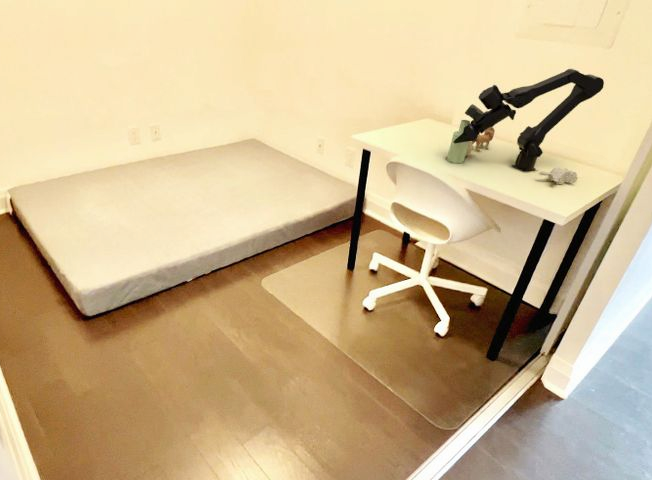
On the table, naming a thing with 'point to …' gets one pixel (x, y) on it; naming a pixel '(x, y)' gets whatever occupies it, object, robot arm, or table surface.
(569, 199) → the table surface
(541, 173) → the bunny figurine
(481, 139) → the lion figurine
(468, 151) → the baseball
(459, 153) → the bottle
